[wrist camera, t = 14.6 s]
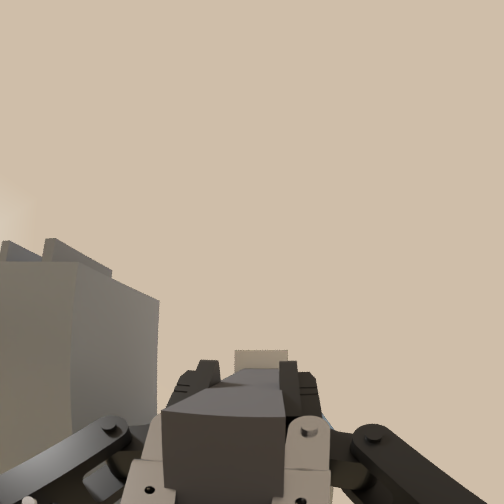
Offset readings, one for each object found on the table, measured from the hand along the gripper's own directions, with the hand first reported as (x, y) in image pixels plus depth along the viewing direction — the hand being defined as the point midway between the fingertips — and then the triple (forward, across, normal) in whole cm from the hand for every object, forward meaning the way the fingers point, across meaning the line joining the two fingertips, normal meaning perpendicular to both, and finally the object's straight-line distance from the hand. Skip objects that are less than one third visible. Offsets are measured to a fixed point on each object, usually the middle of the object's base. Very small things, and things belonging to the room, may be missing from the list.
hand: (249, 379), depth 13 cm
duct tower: (-6, -15, -27) cm, 32 cm away
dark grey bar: (+2, 0, -4) cm, 5 cm away
